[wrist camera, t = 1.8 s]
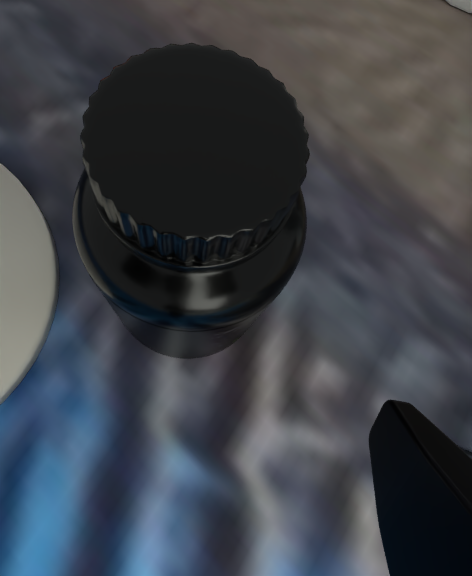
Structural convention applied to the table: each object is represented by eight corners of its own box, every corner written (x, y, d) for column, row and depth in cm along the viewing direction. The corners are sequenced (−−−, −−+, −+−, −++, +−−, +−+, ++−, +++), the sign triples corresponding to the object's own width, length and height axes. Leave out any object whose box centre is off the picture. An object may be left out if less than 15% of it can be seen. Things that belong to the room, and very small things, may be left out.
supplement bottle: (84, 292, 19) (-59, 116, 8) (187, 200, 21) (192, -45, 10) (191, 395, 19) (204, 365, 7) (287, 290, 21) (417, 135, 9)
